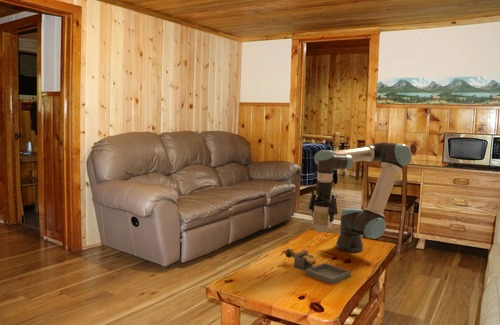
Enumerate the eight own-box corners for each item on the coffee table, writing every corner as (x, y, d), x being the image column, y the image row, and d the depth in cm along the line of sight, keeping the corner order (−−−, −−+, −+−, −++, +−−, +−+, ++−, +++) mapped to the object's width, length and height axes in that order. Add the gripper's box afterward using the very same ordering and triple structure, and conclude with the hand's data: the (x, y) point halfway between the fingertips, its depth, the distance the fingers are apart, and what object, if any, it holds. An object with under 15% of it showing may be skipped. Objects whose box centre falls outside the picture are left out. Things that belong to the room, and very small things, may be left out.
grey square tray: (324, 267, 201) (324, 262, 201) (350, 276, 191) (351, 271, 190) (305, 274, 191) (305, 269, 191) (332, 284, 180) (332, 279, 180)
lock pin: (290, 256, 208) (291, 247, 208) (316, 265, 197) (317, 256, 196) (285, 258, 205) (285, 249, 205) (310, 267, 194) (311, 258, 193)
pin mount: (302, 264, 205) (303, 250, 204) (312, 267, 200) (313, 253, 200) (293, 267, 200) (294, 252, 199) (303, 270, 195) (304, 256, 195)
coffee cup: (331, 234, 199) (333, 203, 197) (311, 232, 201) (312, 202, 200) (331, 229, 209) (333, 200, 207) (312, 227, 211) (314, 198, 209)
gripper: (303, 178, 208) (300, 222, 210) (338, 184, 192) (335, 231, 194) (312, 178, 213) (309, 220, 215) (347, 183, 197) (344, 229, 199)
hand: (321, 225), depth 205 cm, fingers closed on coffee cup, 9 cm apart
